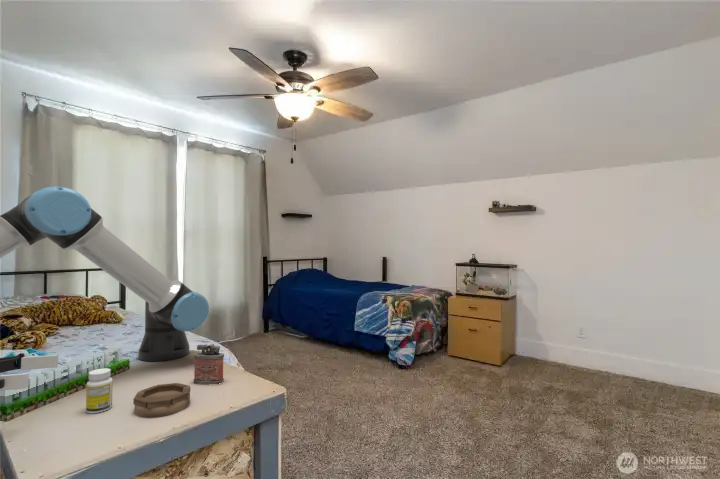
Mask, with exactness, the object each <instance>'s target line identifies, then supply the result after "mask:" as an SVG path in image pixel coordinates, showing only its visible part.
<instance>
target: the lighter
mask: <svg viewBox="0 0 720 479" xmlns="http://www.w3.org/2000/svg"><path fill="white" fill-rule="evenodd" d="M220 348H221V346H220V345H215V344H213V343H211V344H198V345H197V346H196V350H197V351H200V352H195V353H194V354H193V358H194V373H193V374H194V375H193V376H194V378H193V384H195V385H207V386H210V385H209V384H219V383H222V382H225V380H224V379H225V378H224V358H225V353H222V352H220V350H221V349H220ZM222 384H223V383H222ZM219 385H220V384H219Z"/></svg>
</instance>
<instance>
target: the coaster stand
mask: <svg viewBox="0 0 720 479" xmlns="http://www.w3.org/2000/svg"><path fill="white" fill-rule="evenodd" d="M132 400H133V401H132V402H133V405H134V414H135V415H136V416H138V417H140V418H150V419H151V418H161V417H165V416H166V417H167V416H171V415H173V414H176V413H179V412H181V411H183V410H185V409H186V408H188V407H189V406H190V404H191V385H188V384H184V383H179V382H173V383H172V382H171V383H164V384H156V385H152V386H149V387H147V388H145V389H141V390H140V391H137V392H136V394H135V396H134V397H133V399H132Z"/></svg>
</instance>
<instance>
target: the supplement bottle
mask: <svg viewBox="0 0 720 479" xmlns="http://www.w3.org/2000/svg"><path fill="white" fill-rule="evenodd" d="M111 373H112V371H111V368H107V367H106V368H97V369H93V370H90V371H89V372H88V381H87V382H86V390H85V391H86V395H85V396H86V397H85V398H86V400H85V401H86V402H85V410H86V411H85V412H86V413H87V414H100V413H103V411H104V412H106V410H107V411H109V410H110V409H111V408H112V407H113V383H114V382H113V378H112V377H111ZM99 412H100V413H99Z"/></svg>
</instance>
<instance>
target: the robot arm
mask: <svg viewBox="0 0 720 479" xmlns="http://www.w3.org/2000/svg"><path fill="white" fill-rule="evenodd" d="M103 218H104V217H102V216H101V215H100V214H99V213H98V212H96V210H94V209H93V208H92V207H91V205H90V203H89V201H88V200H87V199H86V197H85V196H83V195H82V194H81V193H80V192H78V191H77V190H75V189H72V188H68V187H64V186H47V187H44V188H40V189H38V190H37V191H35V192H33V193H32V194H30V195H28V196H27V197H26V198H24V199H23V200H21V202H19V203H18V204H17V205H16V206H14V207H13V208H11V209H10V210H8V211H6V212H5V213H3V214H1V215H0V259H1V258H3V257H4V256H6V255H9V254H10V253H11V252H14V251H16V250H17V249H19V248H20V247H30V246H32V245H34V244H35V243H37V242H39V241H42V240H44V239H46V238H48V239H49V240H50V241H51V242H53V243H54V244H56V245H57V246H58V247H60V248H61V249H63V250H75V251H77V252H78V253H79V254H81V255H82V256H84V257H85V258H86V259H87V260H89V261H91V263H93V264H94V265H96V266H97V267H99V268H100V269H101V270H103V271H104V272H106V273H107V274H108V275H110V276H111V277H112V278H113V279H115V281H118V282H119V283H121V284H122V285H123V286H124V287H126V288H127V289H129V290H130V291H131V292H133V293H134V294H135V295H137V296H138V297H139V298H140V299H142V300H144V301H145V306H144V308H145V310H144V312H145V313H144V335H143V338H142V341H141V343H140V346H139V348H138V350H137V353H138V354H137V359H138V360H141V361H144V362H162V361H163V362H164V361H170V360H176V359H179V358H182V357H185V356H187V355H188V354H190V343H189V341H188V340H189V339H188V338H187V335H186V332H192V331H195V330H197V329H198V328H200V327H202V325H203V324H204V323H205V322H206V320H207V318H208V315H209V312H210V310H209V309H210V305H209V302H208V300H207V298H206V297H205V296H204V295H202V294H201V293H200V292H197V291H193V290H191V289H190V288H189V287H188V286H186V285H185V284H184V283H183V282H181V280H179V279H177V280H171V279H169V278H168V277H167V276H166V275H164V273H162V272H160V270H158V268H156V267H155V266H153V264H151V263H150V262H148V261H147V260H146V258H144V257H142V256H141V255H140V254H138V253H137V252H136V251H135V250H133V249H132V248H131V247H130V246H128V245H127V244H126V243H125V242H124V241H123V240H121V239H120V238H118V236H117V235H116V234H114V233H112V231H110V230H109V229H107V228H106V227H105V225H104V224H103V223H104V222H103V221H104V219H103ZM58 367H59V354H50V355H49V354H48V355H37V356H36V355H34V356H25V353H24V352H23V353H22V352H21V353H19V354H18V355H11V356H3V357H0V374H1V373H5V372H6V373H7V372H10V371H15V370H20V371H29V370H40V369H43V370H45V369H53V368H54V369H56V368H58ZM29 377H30V373H29V372H24V373H23V372H21V373H12V374H1V375H0V391H12V390H21V389H22V390H23V389H28V388H29Z"/></svg>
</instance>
